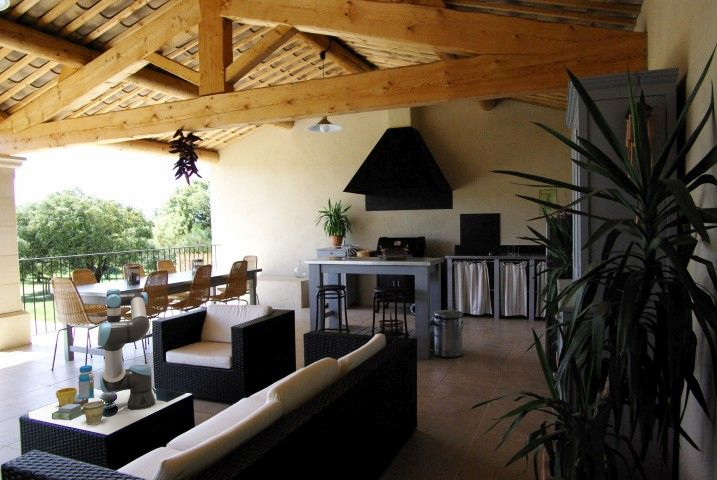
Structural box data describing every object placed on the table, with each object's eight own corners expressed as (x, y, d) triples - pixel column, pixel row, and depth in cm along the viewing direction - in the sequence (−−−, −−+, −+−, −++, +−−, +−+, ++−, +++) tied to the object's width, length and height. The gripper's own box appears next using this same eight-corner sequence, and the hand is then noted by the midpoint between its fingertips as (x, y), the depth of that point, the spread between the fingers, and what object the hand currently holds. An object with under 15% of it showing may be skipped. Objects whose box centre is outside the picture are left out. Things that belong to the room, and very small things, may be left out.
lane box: (104, 406, 281) (104, 399, 282) (70, 422, 257) (70, 414, 257) (87, 405, 284) (87, 398, 284) (51, 421, 259) (51, 413, 259)
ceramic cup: (94, 427, 249) (93, 407, 249) (78, 425, 252) (78, 406, 252) (113, 418, 262) (112, 399, 262) (98, 416, 264) (98, 398, 264)
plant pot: (67, 410, 277) (67, 393, 277) (52, 409, 279) (51, 392, 279) (81, 404, 287) (80, 387, 287) (66, 403, 289) (65, 386, 289)
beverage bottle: (80, 402, 290) (79, 369, 290) (77, 398, 297) (76, 366, 297) (95, 398, 296) (95, 366, 296) (92, 395, 302) (91, 363, 302)
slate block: (81, 413, 267) (80, 404, 267) (71, 418, 260) (70, 408, 260) (69, 412, 268) (68, 403, 268) (58, 417, 262) (58, 408, 262)
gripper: (116, 313, 299) (117, 351, 299) (100, 316, 286) (101, 356, 286) (126, 313, 298) (127, 351, 297) (111, 316, 285) (112, 356, 285)
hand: (114, 353), depth 292 cm, fingers closed
